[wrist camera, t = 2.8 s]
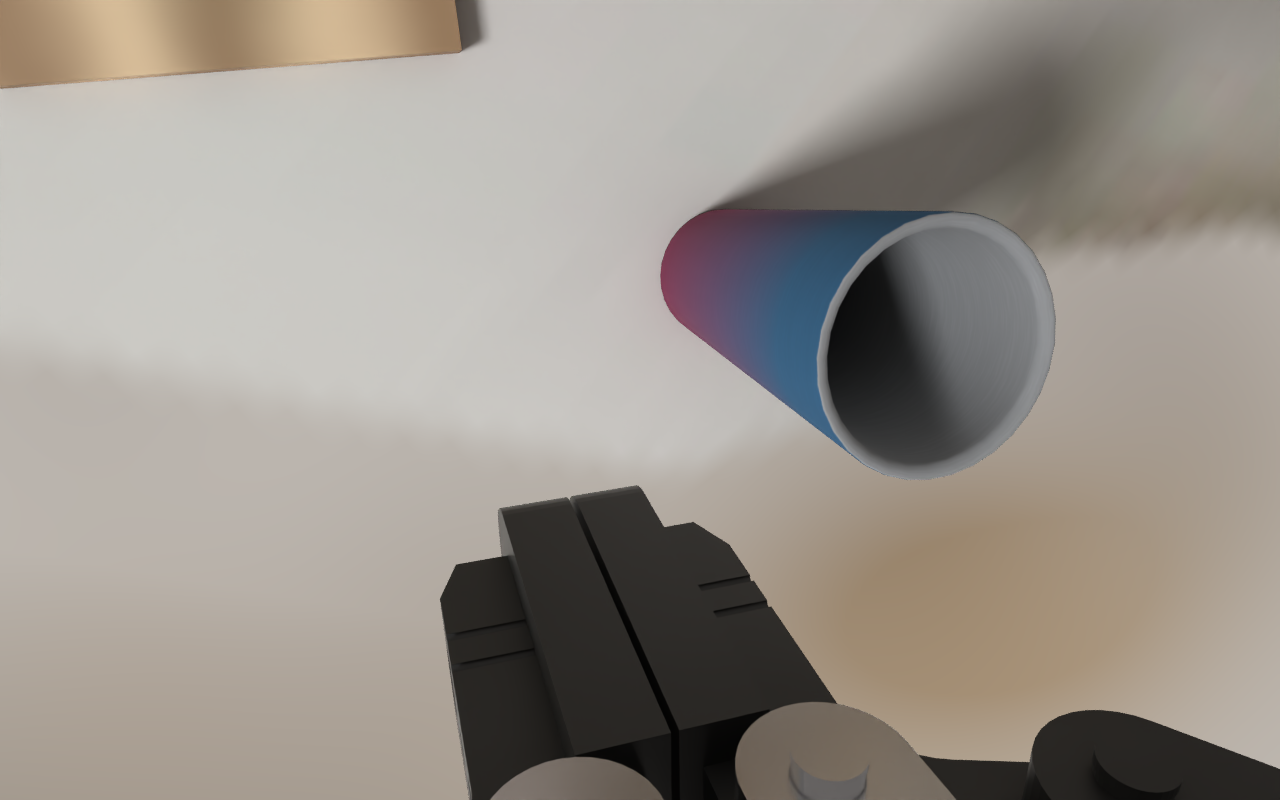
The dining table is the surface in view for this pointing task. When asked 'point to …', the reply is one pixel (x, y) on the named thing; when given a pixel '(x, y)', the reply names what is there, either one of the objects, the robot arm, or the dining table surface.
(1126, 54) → the dining table surface
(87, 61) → the board
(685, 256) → the cup
